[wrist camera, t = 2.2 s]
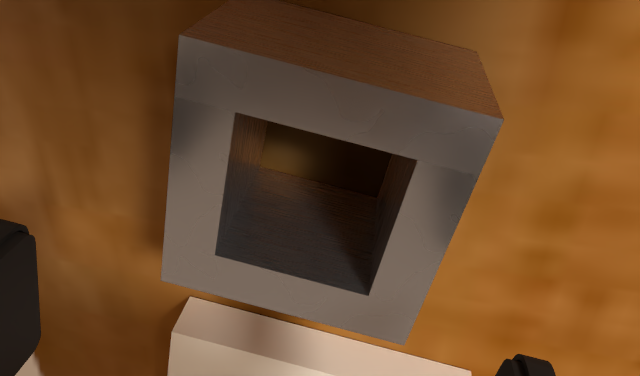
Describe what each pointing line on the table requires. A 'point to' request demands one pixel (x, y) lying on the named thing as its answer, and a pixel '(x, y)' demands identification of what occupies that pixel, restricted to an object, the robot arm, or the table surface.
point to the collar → (310, 196)
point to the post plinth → (278, 348)
